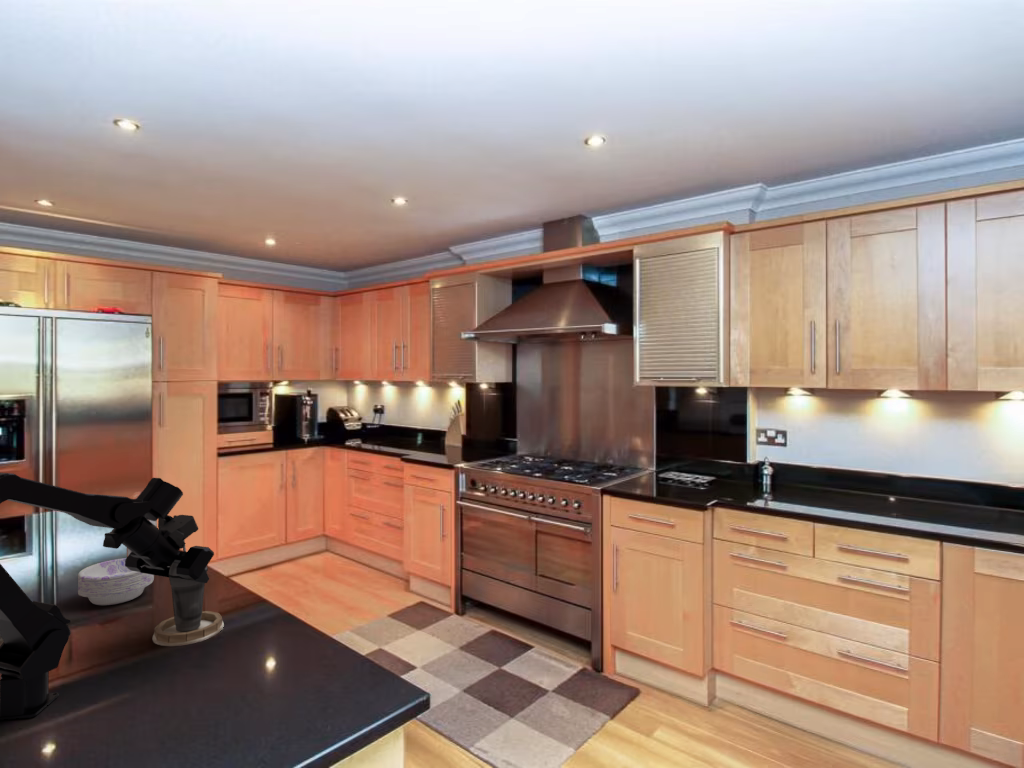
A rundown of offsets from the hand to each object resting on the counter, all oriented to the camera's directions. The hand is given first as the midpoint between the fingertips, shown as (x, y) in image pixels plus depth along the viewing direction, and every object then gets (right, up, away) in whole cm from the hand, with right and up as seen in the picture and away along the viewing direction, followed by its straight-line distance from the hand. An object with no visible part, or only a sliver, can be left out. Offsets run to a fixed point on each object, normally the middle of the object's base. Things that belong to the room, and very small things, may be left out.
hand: (194, 579), depth 120 cm
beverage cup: (0, -10, -1) cm, 10 cm away
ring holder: (0, -11, -1) cm, 11 cm away
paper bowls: (-29, -11, +18) cm, 36 cm away
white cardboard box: (-38, -11, +42) cm, 58 cm away
